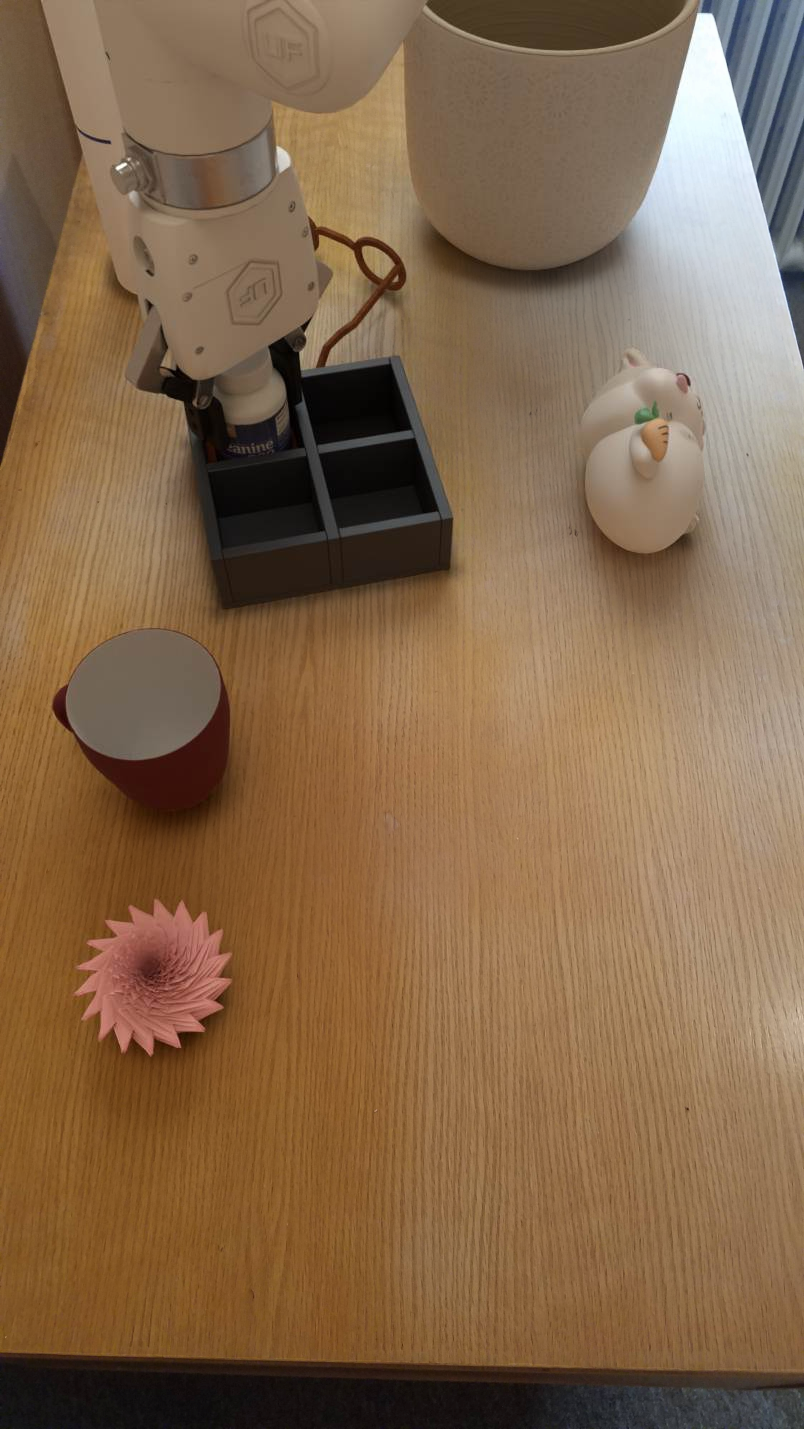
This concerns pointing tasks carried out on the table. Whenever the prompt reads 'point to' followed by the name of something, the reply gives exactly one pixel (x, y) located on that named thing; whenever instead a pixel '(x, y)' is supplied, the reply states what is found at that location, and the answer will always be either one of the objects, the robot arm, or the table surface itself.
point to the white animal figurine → (644, 455)
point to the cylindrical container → (94, 117)
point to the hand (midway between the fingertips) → (248, 414)
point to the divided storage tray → (328, 493)
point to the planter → (540, 120)
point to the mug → (151, 716)
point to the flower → (155, 977)
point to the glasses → (382, 284)
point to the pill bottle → (253, 408)
